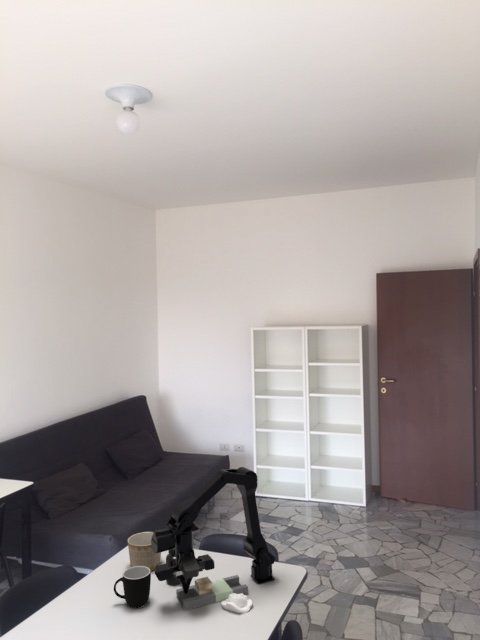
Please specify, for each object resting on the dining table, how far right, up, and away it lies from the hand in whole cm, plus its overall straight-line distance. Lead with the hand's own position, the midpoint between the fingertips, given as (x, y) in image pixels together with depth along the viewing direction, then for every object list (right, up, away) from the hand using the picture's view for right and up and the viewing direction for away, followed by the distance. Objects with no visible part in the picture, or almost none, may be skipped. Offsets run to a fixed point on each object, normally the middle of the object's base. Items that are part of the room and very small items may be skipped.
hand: (185, 593), depth 172 cm
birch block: (+6, 0, +2) cm, 6 cm away
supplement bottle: (-5, -3, +14) cm, 15 cm away
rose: (+17, -3, -3) cm, 17 cm away
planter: (-18, -4, +26) cm, 32 cm away
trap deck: (+9, -3, +4) cm, 10 cm away
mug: (-17, -4, 0) cm, 18 cm away
